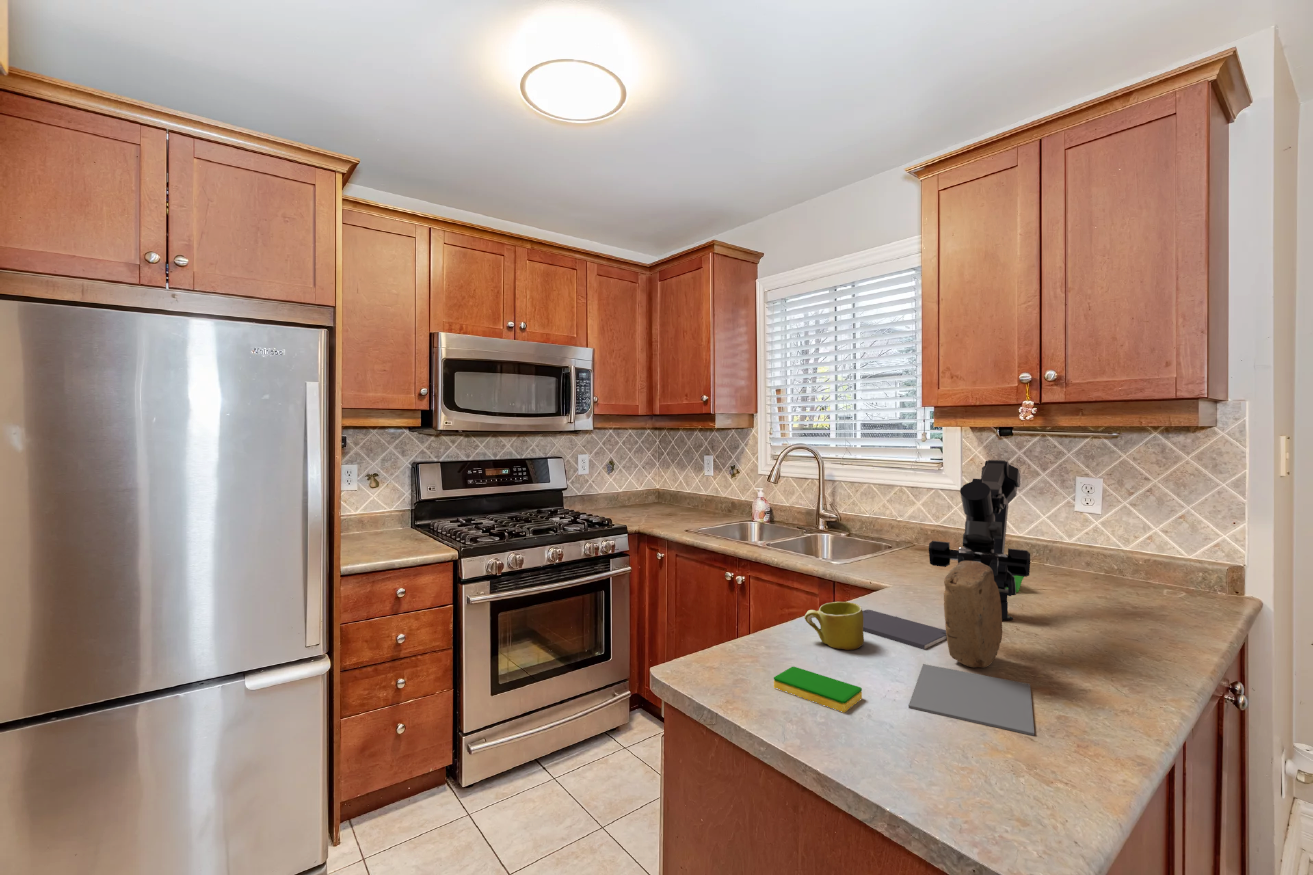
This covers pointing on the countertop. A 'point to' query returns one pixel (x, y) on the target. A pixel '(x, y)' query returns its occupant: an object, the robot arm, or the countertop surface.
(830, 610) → the mug
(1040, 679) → the countertop surface
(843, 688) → the dish sponge
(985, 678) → the mat
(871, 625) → the notebook
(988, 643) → the brown rough stone
